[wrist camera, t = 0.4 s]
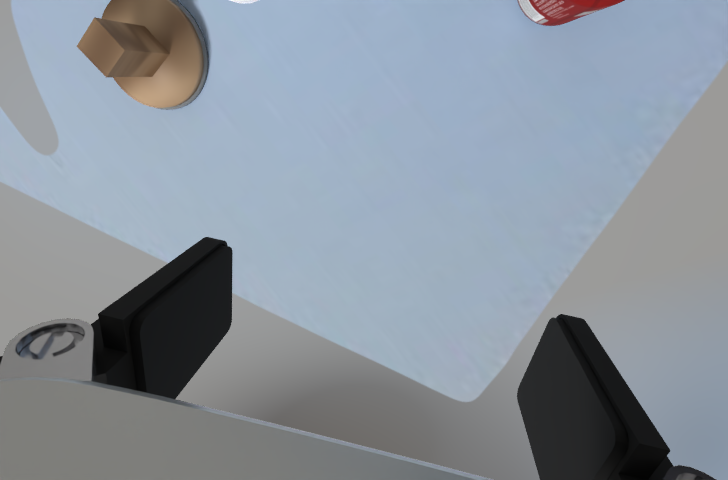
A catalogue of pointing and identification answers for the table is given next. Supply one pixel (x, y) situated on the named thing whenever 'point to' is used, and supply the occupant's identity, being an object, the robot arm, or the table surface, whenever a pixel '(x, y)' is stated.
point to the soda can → (561, 9)
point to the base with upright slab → (244, 1)
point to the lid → (147, 50)
